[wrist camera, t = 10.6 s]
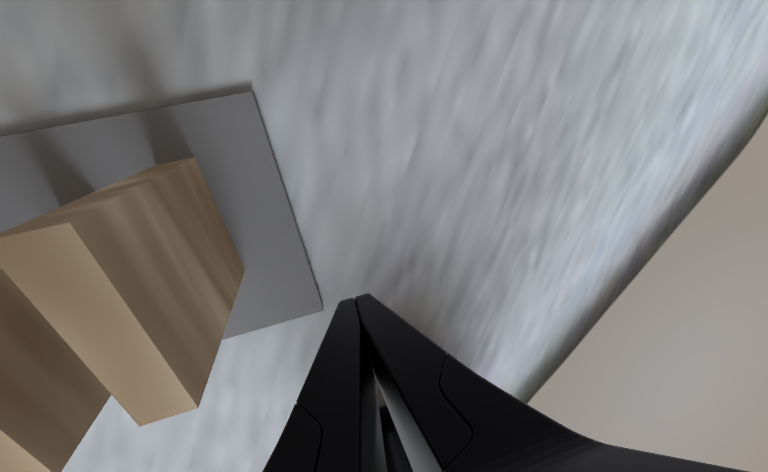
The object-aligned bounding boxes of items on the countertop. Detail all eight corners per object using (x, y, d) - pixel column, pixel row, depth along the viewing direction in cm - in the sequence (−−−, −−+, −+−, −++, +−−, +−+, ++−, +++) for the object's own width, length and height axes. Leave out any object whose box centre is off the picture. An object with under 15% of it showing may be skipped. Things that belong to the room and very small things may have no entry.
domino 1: (102, 198, 13) (-139, 315, 6) (168, 306, 16) (57, 476, 9) (61, 207, 13) (-241, 340, 6) (135, 315, 15) (-7, 497, 8)
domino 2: (194, 156, 13) (69, 222, 6) (245, 270, 16) (198, 408, 9) (156, 164, 13) (-21, 242, 6) (213, 278, 16) (139, 426, 9)
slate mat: (252, 91, 13) (251, 91, 13) (323, 306, 18) (323, 310, 18) (-551, 235, 10) (-584, 240, 9) (-177, 450, 15) (-189, 459, 14)
